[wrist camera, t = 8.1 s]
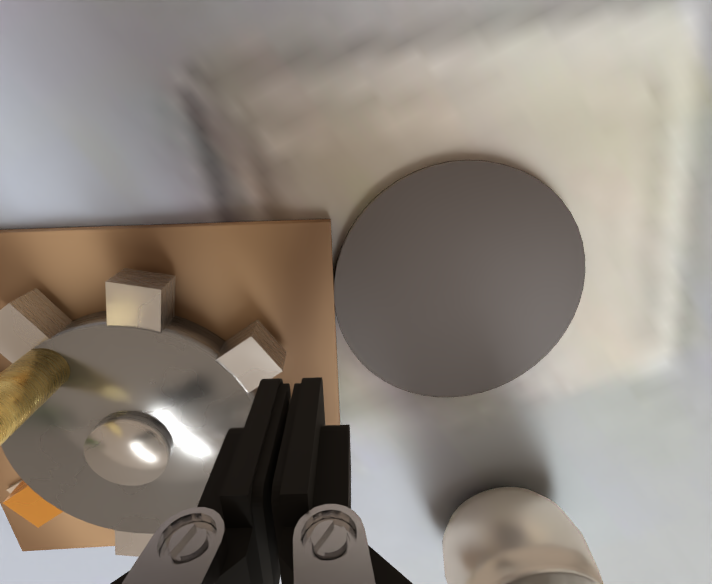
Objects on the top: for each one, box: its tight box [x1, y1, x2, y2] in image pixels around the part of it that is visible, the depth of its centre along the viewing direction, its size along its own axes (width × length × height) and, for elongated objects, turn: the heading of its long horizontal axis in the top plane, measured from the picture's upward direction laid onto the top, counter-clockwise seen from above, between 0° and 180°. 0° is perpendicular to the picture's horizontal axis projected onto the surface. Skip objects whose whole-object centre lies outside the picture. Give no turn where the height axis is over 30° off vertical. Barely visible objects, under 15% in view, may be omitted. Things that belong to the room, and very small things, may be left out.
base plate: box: [0, 219, 340, 551], centre depth 18 cm, size 16×16×1 cm
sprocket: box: [0, 268, 287, 556], centre depth 15 cm, size 13×13×6 cm
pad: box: [334, 160, 585, 397], centre depth 17 cm, size 10×10×1 cm
